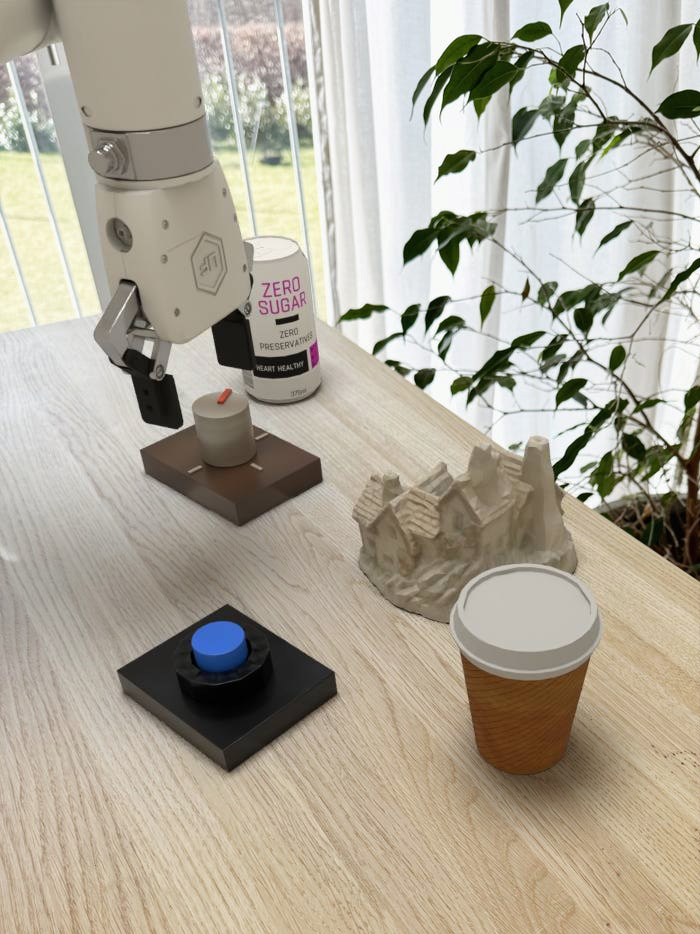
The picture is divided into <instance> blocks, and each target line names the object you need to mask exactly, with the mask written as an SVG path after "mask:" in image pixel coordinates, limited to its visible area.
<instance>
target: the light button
mask: <svg viewBox="0 0 700 934" xmlns="http://www.w3.org/2000/svg"><path fill="white" fill-rule="evenodd" d="M191 643H192V648H193V652H194V656H195V660H196V663H197V665H198V666H199V668H201V669H202V670H204V671H206V672H213V673H220V672H224V671H229V670H233V669H235V668H237V667H238V666H240V665H241V664H243V663H244V662H245V661H246V659H247V656H248V649H247V644H246V639H245V634H244V631H243V629H242V628H241V627H240V626H239V625H237V624H235V623H232V622H227V621H219V622H213V623H210V624H207V625H205V626H203V627H201V628H200V629H198V630H197V631H196V632H195V634H194V635H193V637H192V641H191Z"/></svg>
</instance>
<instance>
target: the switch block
mask: <svg viewBox="0 0 700 934" xmlns="http://www.w3.org/2000/svg"><path fill="white" fill-rule="evenodd" d="M219 621H227V622H232V623H235V624H237V625H239V626H240V627H241V628H242V629H243V631H244V634H245V639H246V644H247V649H248V656H247V659H246V661H245V662H244V663H243V664H241V665H240V666H238V667H237V668H235V669H233V670H229V671H224V672H220V673H213V672H206V671H204V670H202V669H201V668H199V666H198V665H197V663H196V660H195V656H194V652H193V648H192V643H191V641H192V637H193V635H194V634H195V632H196V631H197V630H198V629H200V628H201V627H203V626H205V625H207V624H210V623H213V622H219ZM116 673H117V677H118V680H119V682H120V683H119V684H120V685H121V686H120V687H121V689H122V691H123V694H125V695H127V697H129V698H130V699H131V700H132V701H134V702H135V703H137V704H138V705H139V706H141V708H143V709H145V710H146V711H147V712H148V713H149V714H151V715H152V716H154V717H155V718H157V719H158V720H159V721H160V722H161V723H163V724H164V725H166V727H168V728H170V729H171V730H172V731H173V732H175V733H176V734H177V735H179V736H180V737H181V738H182V739H184V740H185V741H187V742H188V743H189V744H191V745H192V746H193V747H194V748H196V749H197V750H198V751H199V752H201V753H202V754H203V755H204V756H206V757H208V759H210V760H211V761H212V762H214V763H215V764H216V765H218V766H219V767H220V768H222V769H223V770H224V771H225V772H227V773H228V774H229V773H231V772H232V771H234V770H235V769H237V768H238V767H239V766H240V765H242V764H244V762H246V761H247V760H249V759H250V758H252V757H253V756H254V755H255V754H257V753H258V752H259V751H261V750H262V749H264V748H265V747H266V746H268V745H269V744H271V743H272V742H273V741H275V740H276V739H278V738H279V737H280V736H282V735H283V734H284V733H286V732H287V731H289V730H290V729H291V728H293V727H294V726H295V725H297V724H298V723H299V722H301V721H303V720H304V719H305V718H306V717H308V716H309V715H310V714H312V713H314V711H317V710H318V709H319V708H320V707H321V706H323V705H324V704H326V703H327V702H329V701H330V700H332V698H334V697H336V695H338V687H337V678H336V672H335V671H334V670H332V669H331V668H329V667H328V666H326V665H325V664H324V663H322V662H320V661H318V660H317V659H315V658H314V657H312V656H311V655H309V654H307V653H306V652H304V651H303V650H301V649H300V648H298V647H297V646H295V645H294V644H292V643H290V642H288V641H287V640H285V638H283V637H281V636H279V635H277V634H276V633H274V632H273V631H272V630H270V629H268V628H267V627H265V626H263V625H262V624H261V623H259V622H257V621H256V620H254V619H253V618H252V617H250V616H248V615H246V614H245V613H243V612H242V611H240V610H238V609H237V608H235V607H233V605H231V604H229V603H225V604H223V605H222V606H221V607H219V608H217V609H216V610H214V611H212V612H210V613H209V614H207V615H206V616H204V617H202V618H201V619H199V620H196V621H195V622H194V623H192V624H191V625H189V626H188V627H186V628H184V629H182V630H180V631H179V632H178V633H175V634H174V635H173V636H171V637H169V638H168V639H166V640H165V641H162V642H161V643H159V644H158V645H156V646H154V647H153V648H151V649H149V650H148V651H146V652H145V653H143V654H141V655H140V656H138V657H136V658H134V659H133V660H131V661H129V662H128V663H126V664H125V665H123V666H121V667H120V668H118V669H116Z"/></svg>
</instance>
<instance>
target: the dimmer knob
mask: <svg viewBox="0 0 700 934" xmlns="http://www.w3.org/2000/svg"><path fill="white" fill-rule="evenodd" d="M191 411H192V416H193V421H194V424H195V426H196V431H197V436H198V441H199V446H200V450H201V455H202V459H203V460H204V461H205V462H206V463H208V464H210V465H212V466H217V467H232V466H237V465H240V464H243V463H246V462H248V461H249V460H251V459H252V458H253V457H254V456H255V454H256V444H255V438H254V432H253V426H252V425H253V421H252V420H253V419H252V415H251V408H250V402H249V399H248V398H247V397H246V396H245V395H244V394H242V393H239V392H236V391H233V389H232V388H225V389H224V390H223V391H214V392H210V393H207V394H204V395H202V396H200V397H198V398H196V399H195V400H194V401H193V403H192V404H191Z"/></svg>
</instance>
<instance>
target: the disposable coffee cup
mask: <svg viewBox="0 0 700 934" xmlns="http://www.w3.org/2000/svg"><path fill="white" fill-rule="evenodd" d="M604 626H605V625H604V618H603V614H602V613H601V609H600V608H599V606H598V604H597V601H596V598H595V596H594V594H593V591H592V590H591V589H590V588H589V587H588V586H587V584H585V583H584V581H582V580H581V579H579V578H578V577H576V576H575V575H573V574H569V573H567V572H564V571H561V570H559V569H556V568H553V567H550V566H545V565H539V564H529V563H527V564H511V565H504V566H500V567H496V568H493V569H490V570H488V571H485V572H483V573H481V574H479V575H478V576H476V577H475V578H473V579H472V580H470V581H469V583H468V584H467V585H466V586H465V587H464V588H463V589H462V591H461V593H460V596H459V599H458V601H457V602H456V603H455V605H454V607H453V609H452V611H451V614H450V622H449V630H450V633H451V638H452V640H453V641H454V642H455V645H456V646H457V648H458V650H459V654H460V660H461V665H462V672H463V676H464V683H465V688H466V689H465V690H466V693H467V700H468V705H469V711H470V716H471V722H472V727H473V733H474V739H475V744H476V745H475V746H476V748H477V750H478V752H479V754H480V756H481V757H482V758H483V759H484V760H485V762H487V763H488V764H489V765H491V767H494V768H496V769H498V770H500V771H502V772H506V773H509V774H515V775H516V774H517V775H529V774H537V773H540V772H543V771H546V770H548V769H550V768H552V767H553V766H555V765H556V764H557V763H558V762H559V761H560V760H562V758H563V756H564V754H565V752H566V750H567V747H568V742H569V738H570V734H571V731H572V728H573V724H574V720H575V717H576V713H577V710H578V707H579V706H578V705H579V702H580V699H581V694H582V691H583V687H584V683H585V679H586V676H587V673H588V669H589V665H590V660H591V657H592V654H593V653H594V652H595V651H596V649H597V647H598V646H599V645H600V643H601V640H602V637H603V634H604V633H603V632H604Z"/></svg>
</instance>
